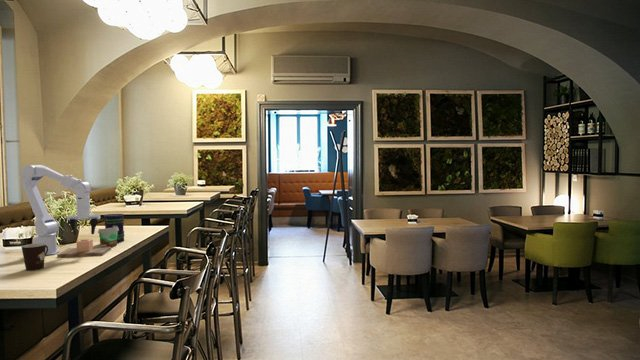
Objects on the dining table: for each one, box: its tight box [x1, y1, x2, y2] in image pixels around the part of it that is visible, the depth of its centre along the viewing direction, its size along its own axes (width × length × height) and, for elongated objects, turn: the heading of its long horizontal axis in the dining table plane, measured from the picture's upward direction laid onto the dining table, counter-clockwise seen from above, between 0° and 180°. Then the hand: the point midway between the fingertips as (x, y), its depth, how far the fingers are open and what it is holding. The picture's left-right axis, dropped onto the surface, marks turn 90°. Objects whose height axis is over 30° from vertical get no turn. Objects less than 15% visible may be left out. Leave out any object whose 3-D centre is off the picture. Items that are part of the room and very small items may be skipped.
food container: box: [97, 226, 119, 248], centre depth 235 cm, size 12×6×10 cm, turn 168°
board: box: [56, 246, 112, 258], centre depth 218 cm, size 20×14×2 cm
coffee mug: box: [21, 243, 48, 272], centre depth 190 cm, size 12×9×10 cm
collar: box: [75, 238, 94, 252], centre depth 218 cm, size 6×6×5 cm
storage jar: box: [104, 213, 125, 244], centre depth 249 cm, size 10×10×15 cm
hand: (84, 234), depth 218 cm, fingers open, 7 cm apart
